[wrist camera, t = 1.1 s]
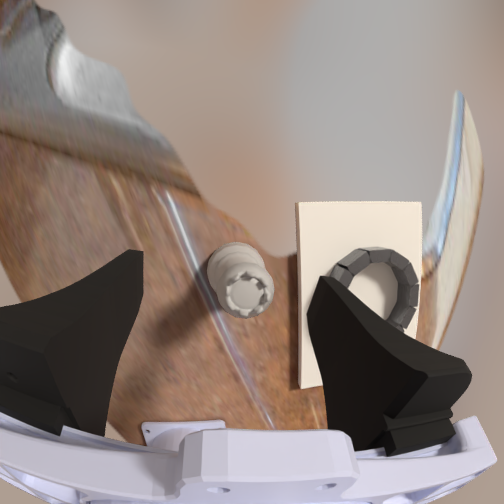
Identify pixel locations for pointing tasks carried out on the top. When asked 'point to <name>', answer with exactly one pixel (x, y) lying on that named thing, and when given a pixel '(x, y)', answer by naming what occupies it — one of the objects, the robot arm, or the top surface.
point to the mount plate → (340, 245)
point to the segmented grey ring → (401, 270)
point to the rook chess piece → (240, 280)
